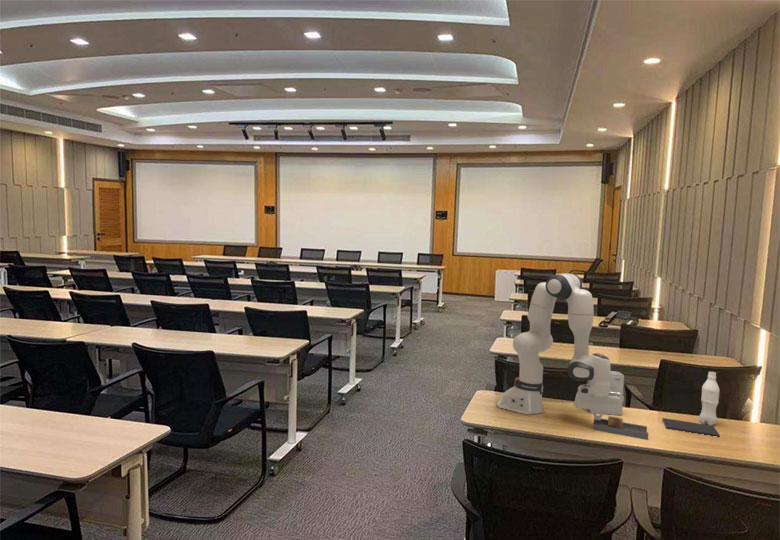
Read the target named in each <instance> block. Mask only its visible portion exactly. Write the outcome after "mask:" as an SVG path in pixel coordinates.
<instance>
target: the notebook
mask: <svg viewBox="0 0 780 540" xmlns="http://www.w3.org/2000/svg"><path fill="white" fill-rule="evenodd" d="M662 423H663V425H664V427H665V430H670V429H671V430H670V431H676V430H678V431H677V432H683V431H685V432H684V433H689V432H691V433H690V434H695V433H697V434H696V435H701V434H704V435H703V436H707V435H710V436H709V437H713V436H717V437H716V438H719V437H721V434H720V433H719V432H718V431H717V428H715V425H708V424H706V423H705V424H703V423H699V422H698V423H696V422H692V421H686V420H685V421H684V420H679V419H673V418H672V419H671V418H665V417H662Z"/></svg>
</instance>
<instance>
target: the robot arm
mask: <svg viewBox="0 0 780 540" xmlns="http://www.w3.org/2000/svg"><path fill="white" fill-rule="evenodd" d="M557 299H559V300H561V301H566V302H567V308H568V309H567V321H568V327H569V329H570V331H572V335H573V338H574V340H573V341H574V344H573V345H574V346H573V347H574V348H573V350H574V351H573V356H572V358H571V360H570V362H569V364H568V367H567V374H568V376H569V377H570V378H571V379H572V380H573V381H577V382H587V381H589V384H587V383H585V384H580V385H579V386H578V387H577V392H576V394H575V398H574V404H573V405H574V407H575V408H578V409H582V410H583V409H585V410H587V409H589V410H592V413H591V414H592V416H593V421H594V420H599V421H601V418H602V417H603V416H604V415H605V414H604V412H609V413H615V414H621V413H622V414H623V404H622V403H624V402H625V396H624V394H623V395H622V394H620V393H615V392H610V382H609V378H610V374H611V371H612V370H611V360H610V359H609V357H608V356H606V355H604V354H601V353H597V352H596V353H592V354H591V355H589V339H590V338H589V337H590V334H591V331H592V328H593V324H594V319H595V318H594V317H595V316H594V315H595V314H594V312H595V311H594V310H595V309H594V300H593V295H592V293H591V292H590V291H588V290H587V289H583V281H582V279H581V278H580V276H579V275H577V274H575V273H569V272H568V273H567V272H565V273H564V272H563V273H558V274H553V275H551V276H550V277H549V278H547V280H546V281H545V282H544V281H543V282H539V283H538V284H537V285H536V286H535V289H534V290H533V293H532V297H531V299H530V305H529V308H528V313H527V317H526V318H527V319H528V321H529V330H528V331H524V332H521V333H519V334H517V335H516V336H515V337H514V338H513V340H512V347H513V350H514V351H515V352H516V354H517V356H518V361H519V376H518V377H516V378H515V379H514V386H512V387H510V388H508V389H507V390H505V391H504V393H503V394H502V396H501V398H500V399H499V400H498V401H497V403H496V407H497V406H498V407H497V408H498V409H502V408H503V409H502V410H506V409H507V410H506V411H510V410H511V411H510V412H514V411H515V412H514V413H519V414H521V415H532V414H534V415H535V414H541V413H544V412H545V410H544V405H543V393H544V382H543V379H544V378H543V375H544V374H543V373H544V366H543V364H542V363H541V360H540V356H539V355H540V353H543V352H545V351H547V350H549V349H550V348H551V347H552V346H553V343H554V338H553V336H552V334H551V322H552V317H553V313H554V309H555V305H556V301H557ZM609 394H610V395H609ZM595 410H596V411H601V412H600V413H601V414H599V415H596V413H595Z"/></svg>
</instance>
